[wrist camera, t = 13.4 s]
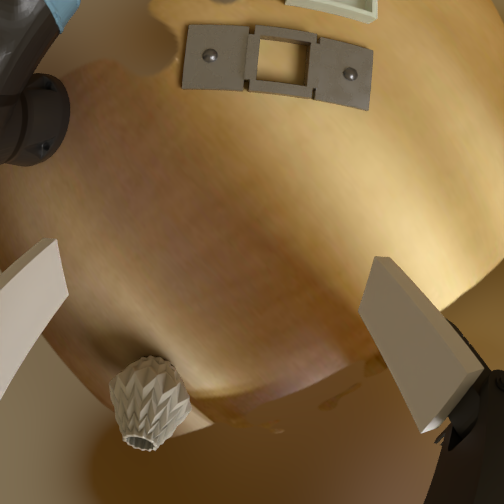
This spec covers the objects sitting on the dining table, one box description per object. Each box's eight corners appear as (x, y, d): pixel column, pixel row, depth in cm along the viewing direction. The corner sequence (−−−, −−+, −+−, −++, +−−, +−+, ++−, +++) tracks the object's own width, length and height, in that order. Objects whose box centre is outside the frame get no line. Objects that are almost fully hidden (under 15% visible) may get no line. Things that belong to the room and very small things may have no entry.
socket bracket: (183, 89, 34) (180, 87, 32) (190, 27, 30) (187, 22, 28) (365, 110, 36) (371, 110, 34) (370, 51, 32) (376, 49, 30)
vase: (190, 342, 52) (179, 426, 35) (197, 394, 59) (192, 465, 42) (111, 336, 51) (80, 410, 34) (129, 388, 58) (111, 454, 41)
